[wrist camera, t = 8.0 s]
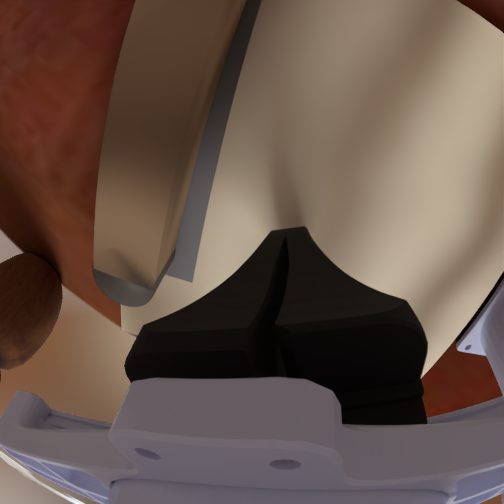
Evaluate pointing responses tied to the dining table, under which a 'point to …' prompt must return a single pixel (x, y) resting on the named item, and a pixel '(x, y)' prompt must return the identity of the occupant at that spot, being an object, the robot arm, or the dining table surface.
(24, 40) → the dining table surface
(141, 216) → the walnut leg
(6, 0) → the dining table surface
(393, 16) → the maple seat
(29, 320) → the wooden figurine
